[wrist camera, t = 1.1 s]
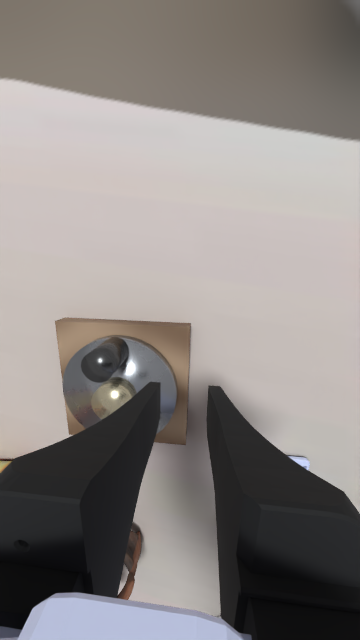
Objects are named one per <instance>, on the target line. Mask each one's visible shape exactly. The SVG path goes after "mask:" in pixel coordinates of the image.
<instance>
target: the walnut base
mask: <svg viewBox="0 0 360 640" xmlns="http://www.w3.org/2000/svg"><path fill="white" fill-rule="evenodd" d="M55 325H56V333H57V341H58V349H59V357H60V365H61V373H62V383H63V376H64V372H65V369H66V366H67V364H68V362H69V361H70V359H71V358H72V357H73V355H74V354H75V353H76V352H77V351H79V350H80V349H81V348H83V347H84V346H86V345H87V344H89V343H90V342H92V341H94V340H96V339H98V338H101V337H105V336H110V335H125V336H131V337H135V338H138V339H140V340H143V341H145V342H147V343H149V344H150V345H152V346H153V347H155V348H156V349H157V350H158V351H159V352H160V353H162V355H163V356H164V357H165V358H166V359H167V361H168V362H169V364H170V365H171V367H172V369H173V371H174V374H175V377H176V382H177V399H176V405H175V409H174V413H173V415H172V417H171V419H170V421H169V422H168V424H167V425H166V426H165V427H164V428H163V429H162V430H161V431H160V432H159V433H157V434H156V437H155V440H154V442H159V443H170V444H181V445H186V429H187V403H188V377H189V351H190V325H191V323H172V322H150V321H127V320H105V319H83V318H63V319H60V320H57V321H55ZM65 405H66V413H67V421H68V429H69V434H71V435H75V434H77V433H79V432H81V431H83V430H85V429H86V428H85V427H83V426H82V425H81V424H80V423H79V422H78V421H77V420H76V418H75V417H74V416H73V414H72V413H71V411H70V410H69V408H68V406H67V403H66V401H65Z"/></svg>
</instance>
